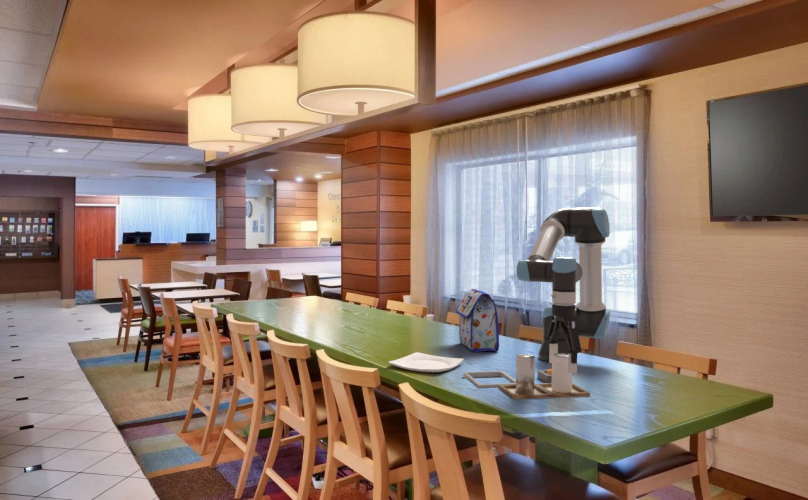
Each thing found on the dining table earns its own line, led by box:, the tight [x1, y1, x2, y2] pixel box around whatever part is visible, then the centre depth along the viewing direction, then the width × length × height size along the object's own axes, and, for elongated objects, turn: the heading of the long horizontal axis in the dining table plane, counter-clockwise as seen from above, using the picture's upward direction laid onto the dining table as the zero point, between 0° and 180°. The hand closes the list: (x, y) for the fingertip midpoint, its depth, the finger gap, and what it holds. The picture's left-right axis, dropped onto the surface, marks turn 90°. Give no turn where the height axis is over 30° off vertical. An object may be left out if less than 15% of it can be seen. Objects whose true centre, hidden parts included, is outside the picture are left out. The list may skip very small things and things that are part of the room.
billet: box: [515, 353, 536, 395], centre depth 184 cm, size 6×6×12 cm
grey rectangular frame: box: [462, 370, 516, 389], centre depth 200 cm, size 15×18×2 cm
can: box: [551, 353, 573, 393], centre depth 187 cm, size 6×6×12 cm
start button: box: [546, 368, 552, 375], centre depth 201 cm, size 4×4×4 cm
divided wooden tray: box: [498, 382, 591, 400], centre depth 185 cm, size 26×13×2 cm, turn 101°
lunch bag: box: [455, 288, 500, 353], centre depth 262 cm, size 23×17×27 cm
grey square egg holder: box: [537, 369, 552, 383], centre depth 201 cm, size 8×8×4 cm
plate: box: [388, 351, 465, 374], centre depth 224 cm, size 24×24×3 cm
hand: (562, 367), depth 187 cm, fingers open, 13 cm apart
